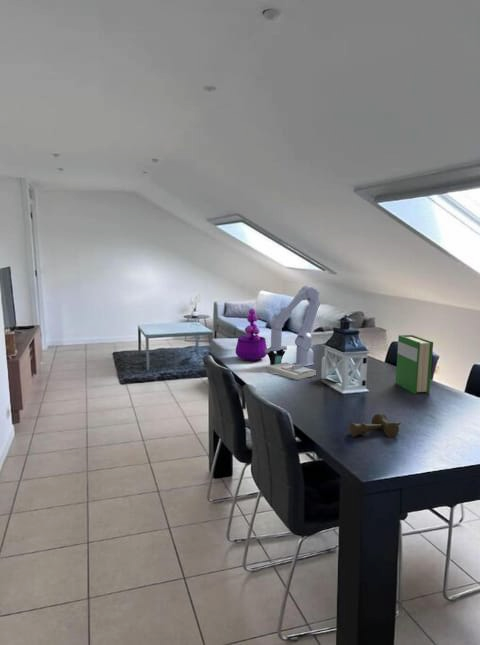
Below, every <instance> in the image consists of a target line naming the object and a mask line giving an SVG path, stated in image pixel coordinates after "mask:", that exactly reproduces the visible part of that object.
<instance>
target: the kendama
mask: <svg viewBox="0 0 480 645" xmlns="http://www.w3.org/2000/svg"><path fill="white" fill-rule="evenodd" d="M401 424H402V423H401V422H394V421H393V422H392V421H391V422H389V421H387V416H386V414H384V413H379V412H377V413H376V414H374V415H373V417H372V419H371V423H364V422H362V421H360V422H359V423H354V422H352V421H351V422H349V424H348V432H349V434H350V436H351V437H352V438H355V437H357V436H358V435H364V436H365V435H366V434H367V433H369V432H371V431H374V430H381V429H382V430H383V431H384V434H385V436H386V437H388V438H395V437H396V436H398V434H399V431H400V427H399V426H400V425H401Z"/></svg>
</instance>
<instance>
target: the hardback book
mask: <svg viewBox="0 0 480 645" xmlns="http://www.w3.org/2000/svg"><path fill="white" fill-rule="evenodd" d="M397 339H398V340H397V353H396V354H397V355H396V373H395V384H396V385H398V386H400V387H401V388H403V389H405V390H406V391H408V392H410V393H411V394H414V395H417V393H426V394H430V389H431V379H432V378H431V376H432V375H431V374H432V364H433V351H434V350H433V349H434V341H432V340H429V339H425V338H423V337H419V336H417V335H414V334H399V335H398V338H397Z"/></svg>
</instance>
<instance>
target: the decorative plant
mask: <svg viewBox="0 0 480 645" xmlns="http://www.w3.org/2000/svg"><path fill="white" fill-rule="evenodd" d="M248 314H249V315H248V316H247V317H246V320H247V322H248V323H249V325H247V326H246V327H245V329H244V332H245V333H244V334H245V335H243V336H239V337H238V338H237V344H236V347H235V354H236V356H237V357H238V358H239V359H242V360H246V361H256V360H258V361H259V360H261V359H263V358H266V356H268V354H267V353H266V352H265V349H267V348H268V347H267V342H266V337H264V336H259V334H260V333H261V332H260V329H259V328H258V325H257V324H256V323H255V322H257V321H258V320H259V317H258V316H257V315H256V310H255V309H254V308H250V309H248Z"/></svg>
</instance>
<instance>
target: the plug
mask: <svg viewBox="0 0 480 645" xmlns="http://www.w3.org/2000/svg"><path fill="white" fill-rule="evenodd" d="M275 353H276V352H275ZM281 358H282V359H283V357H282V356H280V355H278V354H277V353H276V355H275V362H274V365H275V364H280V363H282V360H281ZM270 365H272V364H271V363H270V362H269V366H270Z"/></svg>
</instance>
